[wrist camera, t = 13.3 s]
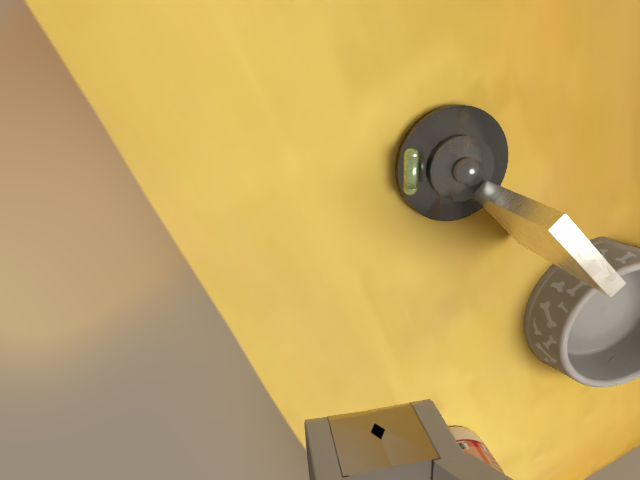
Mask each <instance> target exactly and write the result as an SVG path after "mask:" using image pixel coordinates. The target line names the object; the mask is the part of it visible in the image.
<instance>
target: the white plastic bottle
mask: <svg viewBox="0 0 640 480" xmlns="http://www.w3.org/2000/svg"><path fill="white" fill-rule="evenodd" d="M448 428H449V429H450V431H451V433H452V434H453V436H454V438H455V439H456V441H457V443H458V444H459V446H460V448H461V449H462V451H463V453H464V454H473V455H474V456H476V457H477V458H479V459H481V460H482V461H484V462H485V463H487V464H489V465H490V466H492V467H493V468H495V469H497V470H498V471H500V472H501V473H503V474H504V472H503V471H502V469H501V468H500V466H499V465H498V463H497V462H496V460H495V459H494V457H493V456H492V454H491V453H490V451H489V450H488V448H487V447H486V445H485V444H484V442H483V441H482V439H481V438H480V437H479V436H478V435H477V434H476V433H475V432H473V431H472V430H470V429H468V428H465V427H458V426H456V427H448Z"/></svg>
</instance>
